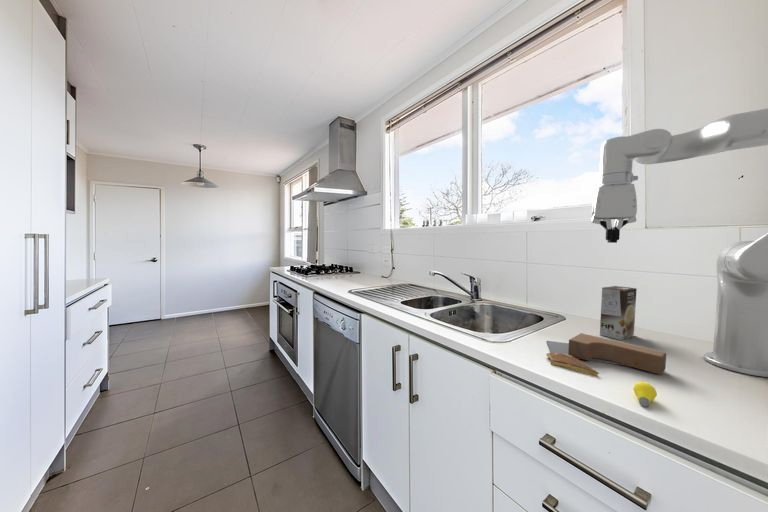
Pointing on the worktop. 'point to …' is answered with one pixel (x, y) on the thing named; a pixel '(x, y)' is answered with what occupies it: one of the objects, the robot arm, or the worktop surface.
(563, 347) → the mat
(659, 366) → the wooden block
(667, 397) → the worktop surface
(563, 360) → the sandwich
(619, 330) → the coffee box
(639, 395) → the light bulb
